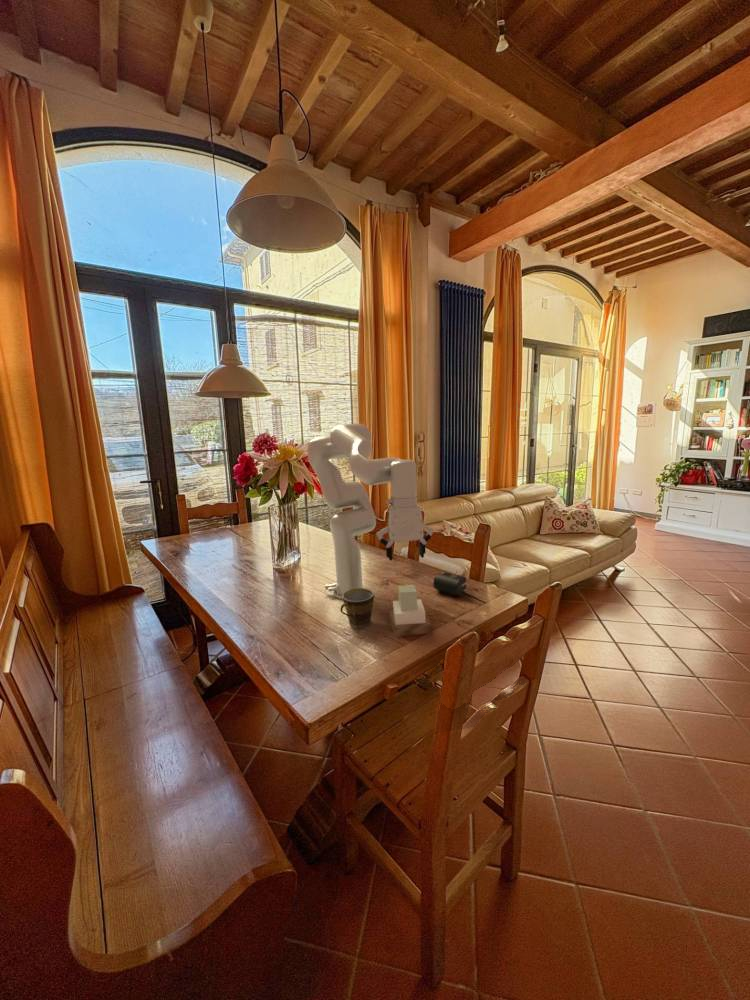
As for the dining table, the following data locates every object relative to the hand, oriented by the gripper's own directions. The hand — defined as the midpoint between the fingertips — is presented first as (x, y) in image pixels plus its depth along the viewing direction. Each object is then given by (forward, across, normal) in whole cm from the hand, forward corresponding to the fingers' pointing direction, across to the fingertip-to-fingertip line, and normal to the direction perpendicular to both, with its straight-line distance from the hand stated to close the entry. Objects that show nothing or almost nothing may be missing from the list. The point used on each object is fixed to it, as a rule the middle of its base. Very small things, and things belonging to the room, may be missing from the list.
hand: (405, 557), depth 122 cm
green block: (+16, 0, 0) cm, 16 cm away
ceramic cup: (+23, -16, +4) cm, 28 cm away
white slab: (+19, 0, 0) cm, 19 cm away
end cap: (+23, +20, +20) cm, 36 cm away
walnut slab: (+23, 0, 0) cm, 23 cm away
